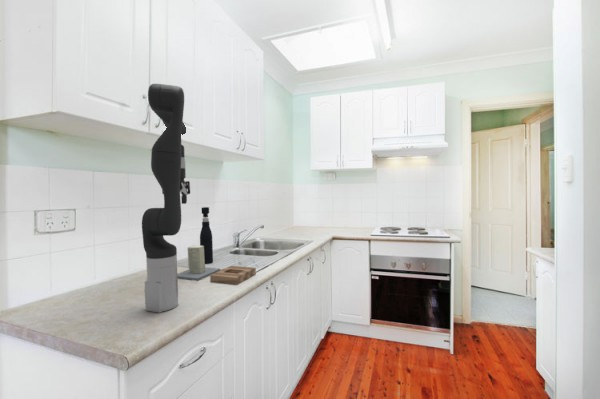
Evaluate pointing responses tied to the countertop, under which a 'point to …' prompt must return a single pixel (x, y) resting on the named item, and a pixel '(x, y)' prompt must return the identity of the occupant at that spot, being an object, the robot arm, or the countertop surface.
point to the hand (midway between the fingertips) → (177, 203)
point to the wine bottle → (206, 237)
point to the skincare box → (196, 259)
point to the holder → (233, 275)
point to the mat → (197, 274)
